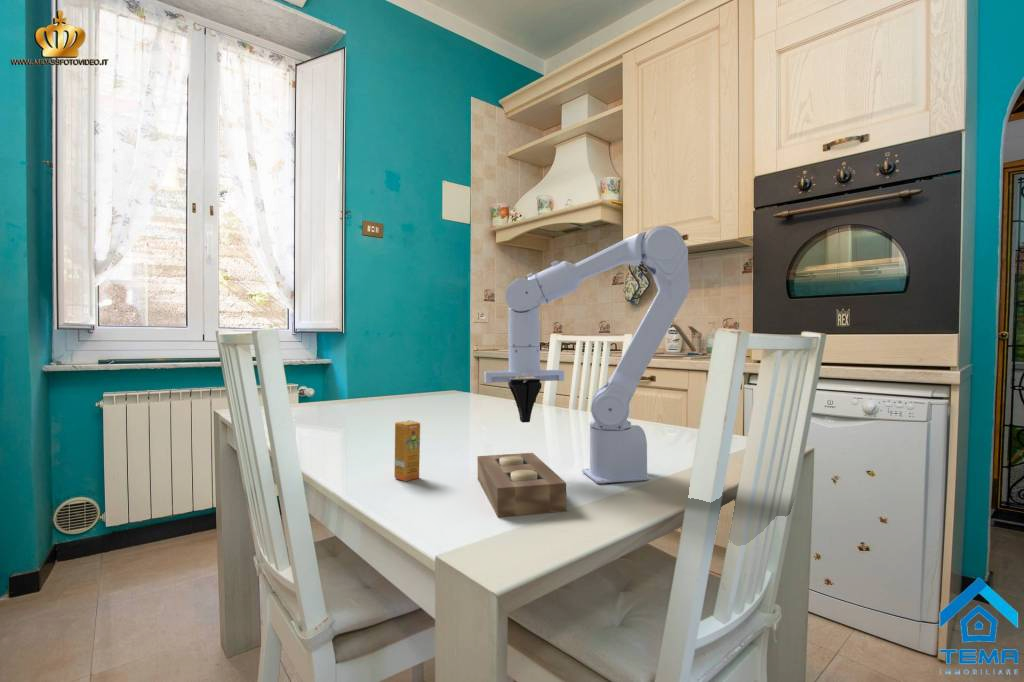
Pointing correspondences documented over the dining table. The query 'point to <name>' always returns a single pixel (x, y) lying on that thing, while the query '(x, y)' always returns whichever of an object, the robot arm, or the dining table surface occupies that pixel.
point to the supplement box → (407, 450)
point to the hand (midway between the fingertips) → (524, 421)
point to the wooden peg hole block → (521, 486)
